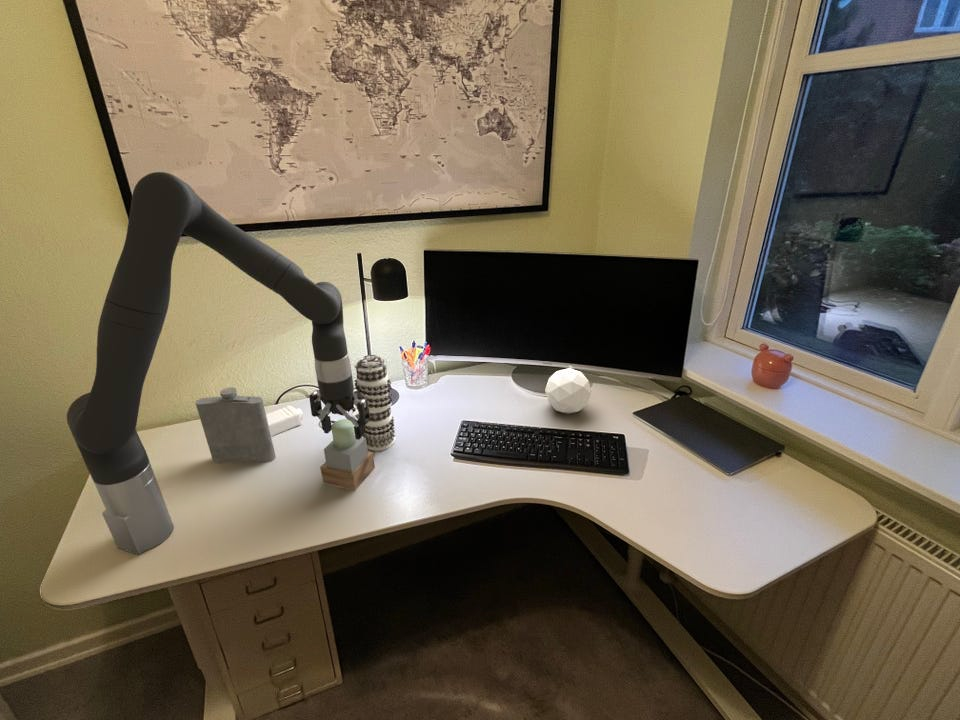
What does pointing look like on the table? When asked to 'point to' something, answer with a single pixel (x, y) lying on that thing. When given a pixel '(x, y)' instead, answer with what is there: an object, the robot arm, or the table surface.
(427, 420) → the table surface
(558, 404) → the geodesic sphere
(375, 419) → the decorative candle
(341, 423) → the rounded mint cylinder
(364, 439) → the gray block
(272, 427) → the white bottle
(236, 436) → the hip flask
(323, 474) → the base block
